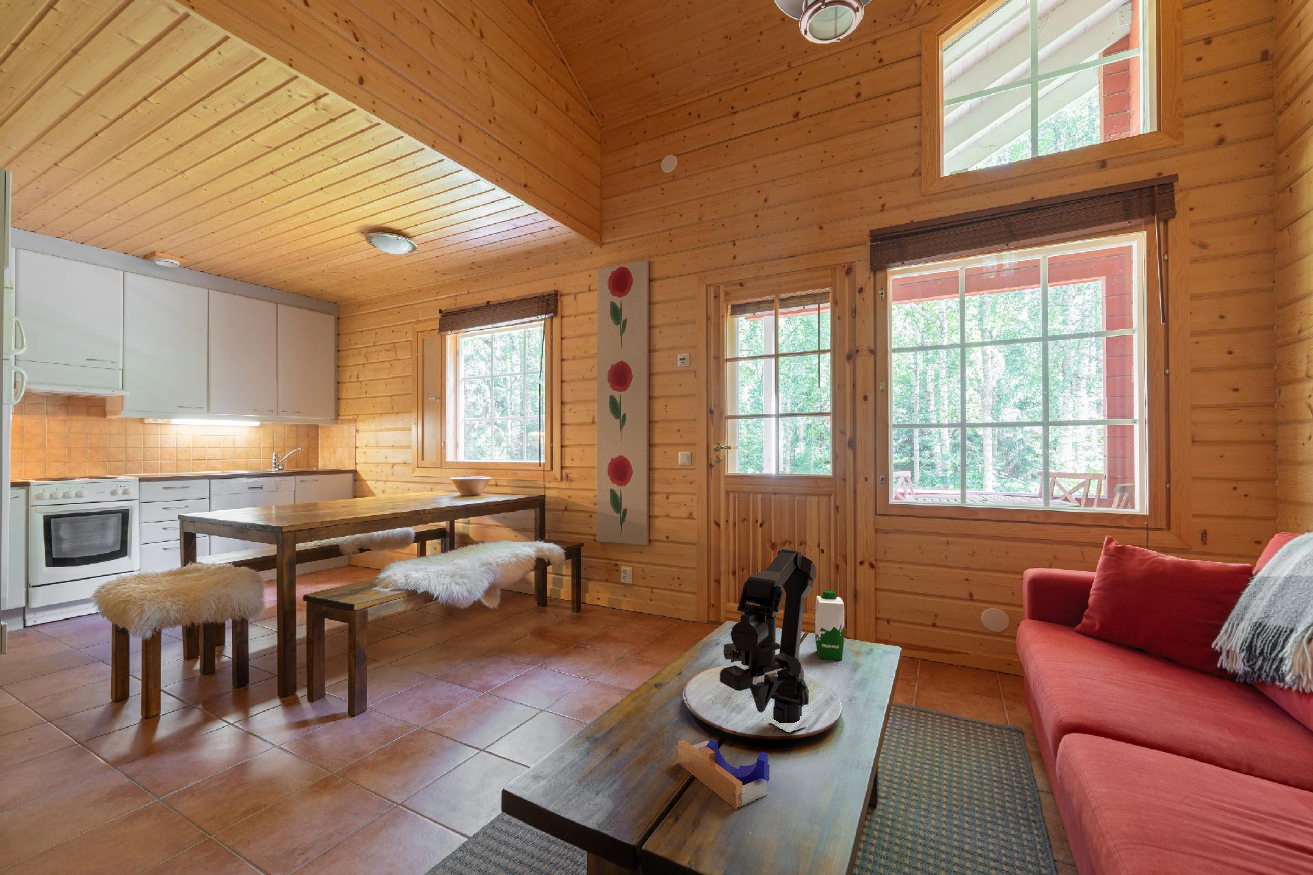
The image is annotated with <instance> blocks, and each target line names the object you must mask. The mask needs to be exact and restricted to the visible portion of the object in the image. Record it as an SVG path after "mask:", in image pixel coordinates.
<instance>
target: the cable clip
mask: <svg viewBox="0 0 1313 875" xmlns="http://www.w3.org/2000/svg"><path fill="white" fill-rule="evenodd" d="M708 741H709V743H708V744H707V745H706V747H708V748H710V749H711V750H713V751H714V752H715V763H716V764H718V765H719V766H720V767H722V768H723V769H725V770H726V771H727V772H729V773H730V774H731V775H733V776H734V777H736V778H737V779H738V780H740V781H741V782H742V786H743V785H746V784H748V783H751V782H753V781H755V780H758V779H760V778H763V779H764V780H766V781H767V784H768V783H769V782H770V767H771V766H770V764H769V753H768V752H764V751H760V752H759V754H758V756H757V757H756V762H754V763H752V764H749V765H743V764H742V765H741V764H740V765H739V767H738V768H737V767H735V766H733V765H731V764H729V763H728V761H726V760H725V758H724V757H723V756H722V754H721V752H720V749H719V746H718V744H719V743H718V741H717V740H714V739H710V740H708Z"/></svg>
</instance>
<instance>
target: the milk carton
mask: <svg viewBox="0 0 1313 875" xmlns="http://www.w3.org/2000/svg"><path fill="white" fill-rule="evenodd" d="M814 617H815V622H814V624H815V625H814V632H815V633H814V638H815V648H816V652H817V656H818V659H820V660H832V661H834V660H835V661H843V657H844V656H843V654H844V647H845V646H844V645H845V604H844V601H843V599H842V598H841V597H839V596H836V591H835V590H832V589H831V590H829V589H828V590H827V589H824V590H822V595H816V600H815V616H814Z"/></svg>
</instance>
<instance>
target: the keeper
mask: <svg viewBox="0 0 1313 875" xmlns="http://www.w3.org/2000/svg"><path fill="white" fill-rule="evenodd" d="M709 741H710V740H704V741H702V742H699V743H697V744H690V743H689V742H688V741H687V740H684V739H682V740H679V741H677V763H678V764H679V766H681V767H682V768H683V769H685V770H686V771H687V772H688V773H689V774H691V776H693V777H695V778H696V779H697V780H699V782H701V783H702V782H703V783H702V784H703V785H705V786H706V787H707V786H708V787H707V788H708V789H710V790H711V791H712V790H713V791H712V792H714V793H715V794H716V795H717V794H718V796H719V797H720V798H721V799H722V800H724V801H725V802H726V801H727V802H726V803H728V804H729V806H731V805H732V806H731V807H732V808H733V809H735V810H737V809H739V808H741V807H743V805H744V806H745V805H748V804H750V803H752V802H754V801H756V799H757V800H759V799H761V798H763V797H765V796H767V795H768V783H767V781H766V780H764V779H763V778H760V779H758V780H755V781H753V782H751V783H748V784H746V785H744V786H743V785H742V782H741V781H740V780H738V779H737V778H736V777H734V776H733V775H731V774H730V773H729V772H727V771H726V770H725V769H723V768H722V767H720V766H719V765H718V764H716V763H715V752H714V751H713V750H711V749H710V748H708V747H706V745H707V744H708V743H709ZM747 803H748V804H747ZM738 807H739V808H738Z"/></svg>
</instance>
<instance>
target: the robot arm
mask: <svg viewBox="0 0 1313 875" xmlns="http://www.w3.org/2000/svg"><path fill="white" fill-rule="evenodd" d="M816 578H817V567H816V565H815V563H814V562H813V560H812V559H810V558H808V557H806V556H804V555H803V554H802V552H801V551H798V550H797V549H786V548H782V549H779V550H778V551H777V555H776V557H774V559H773V560H772V561H771V562H770V564H769V565H767V567H766V568H765V569H764V570H763V571H759V572H758V571H757V572H754V573H753V574H750V575H749V576H748V577H747V579H746V580H745V582H744V584H743V587H742V591H741V593H740V594H741V595H740V598H739V602H738V606H737V608H736V609H737V612H741V613H743V614H741V615H740V618H739V619H740V621H738V622H736V623H735V624H734V625H733V627H732V629H731V631H730V638H731V641H732V642H731V643H730V642H729V643H725V644H723V656H724V657H723V658H724V659H725V660H727V661H728V660H730V663H735V662H740V664H741V665H742V666H747V668H742V667H740V666H738V665H736V664H735V665H730V666H727V667H724V668H721V670H720V671H719V682H720V683H721V684H723V685H725V686H727V687H729V688H731V689H732V690H734V691H736V692H737V691H738V692H742V691H745V690H748V689H750V692H751V695H752V698H753V701H754V705H755V707H756V709H757V712H759V713H761V714H762V713H763V712H765V711H766V708H767V706H768V705H769V703H770V700H771V699H772V700H773V701H774V702H773V709H772V719H774V720H776V721H778V722H779V723H795V722H797V721H799V720H800V716H802V717H803V713H802V711H803V707H804V706H805V705H809V702H810V701H809V699H810V695H809V693H810V690H809V688H808V685H807V683H806V680H805V672H804V669H803V666H802V664H801V662H800V660H799V658H800V646H801V640H802V638H801V636H802V631H803V630H802V626H803V620H804V608H805V600H806V597H807V596H808V595H809V593H810V592H811V590H812V589H813V588H814V587H813V586H814V582H815V580H816ZM784 596H785V598H784ZM783 599H785V600H784V607H783V616H782V625H781V626H782V627H781V634H780V643H779V642H776V641H777V637H776V636H777V634H776V633H777V613H779V612H780V609H781V606H782V603H783ZM776 650H779V651H778V653H776Z"/></svg>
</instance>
